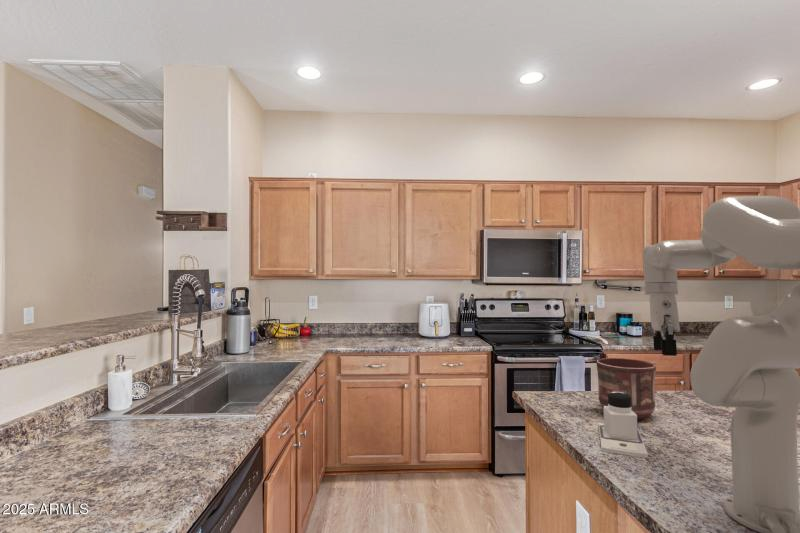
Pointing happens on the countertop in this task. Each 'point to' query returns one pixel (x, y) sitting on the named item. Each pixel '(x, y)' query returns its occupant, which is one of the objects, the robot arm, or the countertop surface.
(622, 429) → the medicine bottle
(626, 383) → the pottery
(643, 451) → the board
